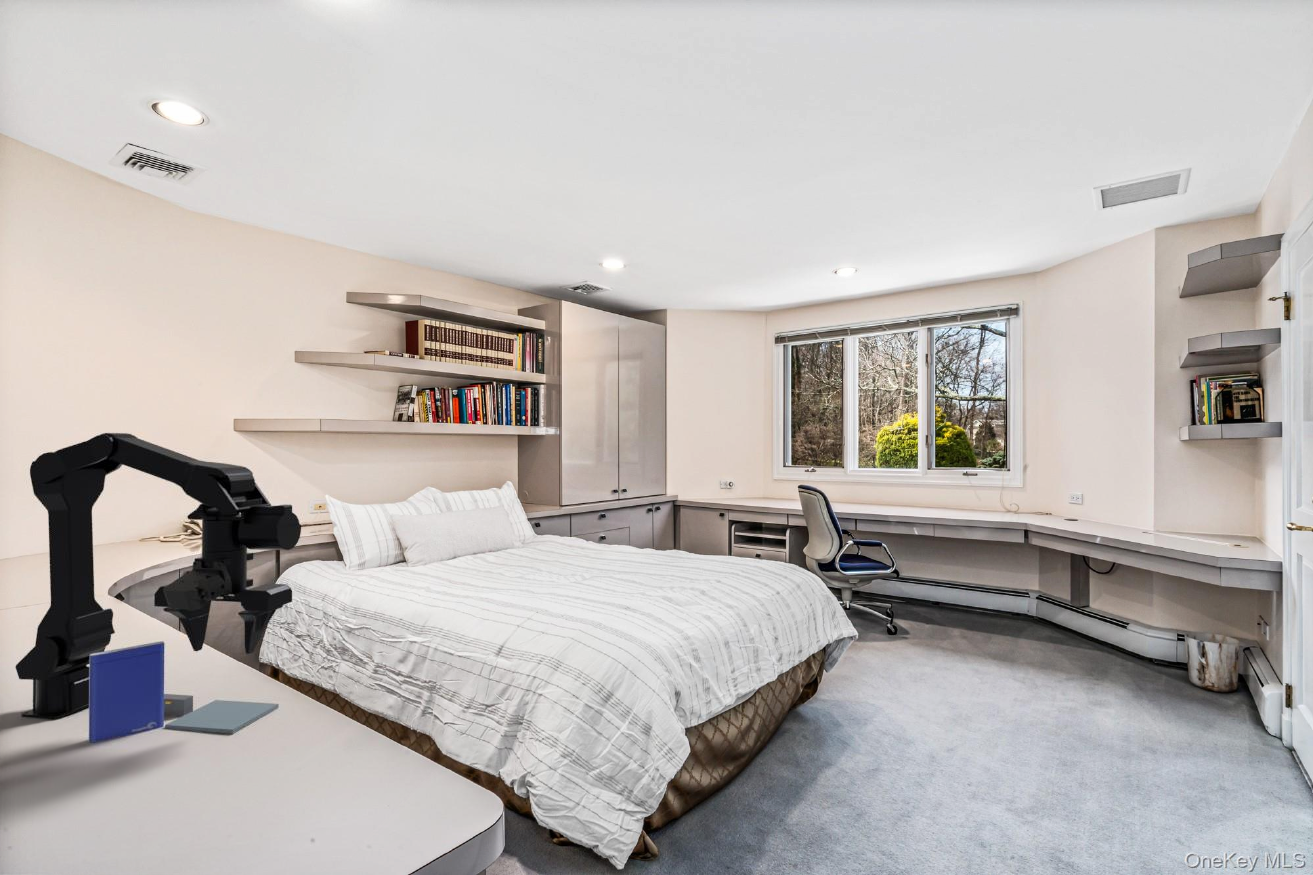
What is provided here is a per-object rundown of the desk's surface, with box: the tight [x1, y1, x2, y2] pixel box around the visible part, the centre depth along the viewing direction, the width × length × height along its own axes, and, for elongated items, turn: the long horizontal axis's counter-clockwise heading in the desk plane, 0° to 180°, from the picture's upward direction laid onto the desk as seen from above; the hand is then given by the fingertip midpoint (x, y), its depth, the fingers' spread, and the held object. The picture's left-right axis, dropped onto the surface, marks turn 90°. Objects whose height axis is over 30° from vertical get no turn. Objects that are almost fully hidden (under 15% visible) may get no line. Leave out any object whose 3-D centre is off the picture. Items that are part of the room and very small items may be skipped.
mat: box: [164, 699, 279, 735], centre depth 96 cm, size 11×9×1 cm
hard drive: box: [88, 640, 165, 743], centre depth 90 cm, size 2×8×12 cm, turn 136°
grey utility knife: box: [164, 693, 194, 717], centre depth 98 cm, size 12×2×2 cm, turn 82°
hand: (223, 651), depth 96 cm, fingers open, 8 cm apart
